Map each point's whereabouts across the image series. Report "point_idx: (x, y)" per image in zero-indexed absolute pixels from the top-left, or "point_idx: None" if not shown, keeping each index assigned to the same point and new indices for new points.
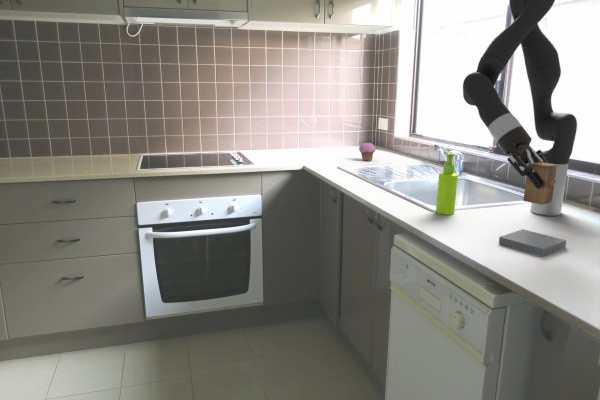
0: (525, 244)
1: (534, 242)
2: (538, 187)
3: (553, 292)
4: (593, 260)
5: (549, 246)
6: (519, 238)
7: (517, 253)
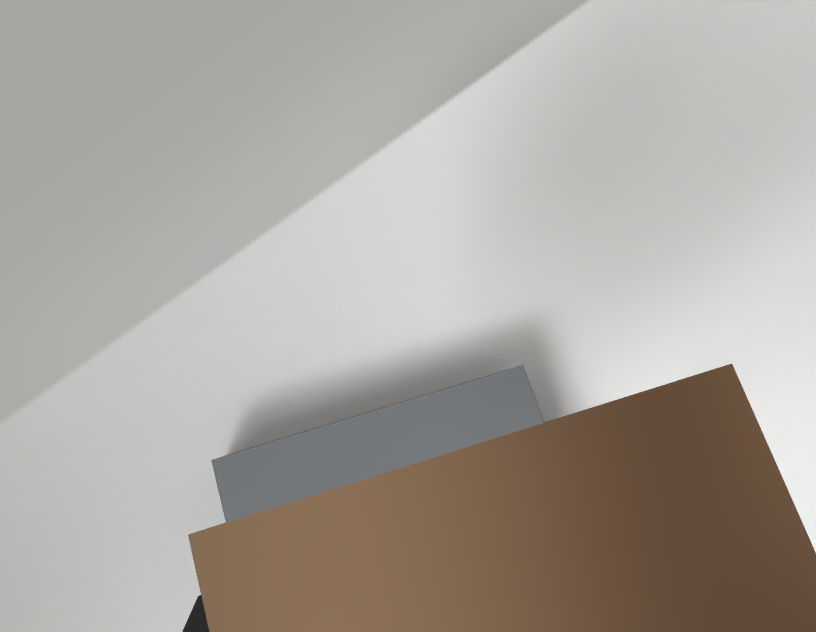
0: None
1: None
2: None
3: (799, 26)
4: (266, 238)
5: (442, 393)
6: None
7: None
